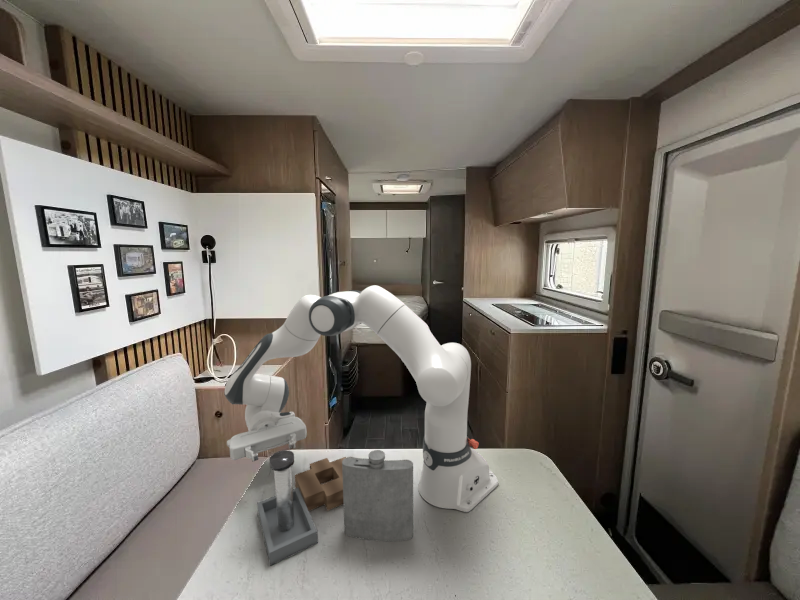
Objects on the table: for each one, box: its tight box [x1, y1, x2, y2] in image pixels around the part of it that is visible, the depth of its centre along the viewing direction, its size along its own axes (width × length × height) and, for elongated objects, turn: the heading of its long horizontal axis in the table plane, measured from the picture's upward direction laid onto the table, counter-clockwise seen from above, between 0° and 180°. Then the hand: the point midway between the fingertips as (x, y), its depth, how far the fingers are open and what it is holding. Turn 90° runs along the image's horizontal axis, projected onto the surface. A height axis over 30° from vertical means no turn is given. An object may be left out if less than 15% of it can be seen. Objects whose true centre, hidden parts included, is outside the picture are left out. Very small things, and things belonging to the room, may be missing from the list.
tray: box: [256, 487, 319, 567], centre depth 76 cm, size 10×16×3 cm, turn 32°
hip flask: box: [342, 449, 414, 542], centre depth 73 cm, size 16×4×20 cm, turn 85°
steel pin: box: [269, 449, 295, 532], centre depth 75 cm, size 5×5×18 cm
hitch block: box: [294, 456, 347, 512], centre depth 88 cm, size 15×15×4 cm
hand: (274, 452), depth 86 cm, fingers open, 8 cm apart
